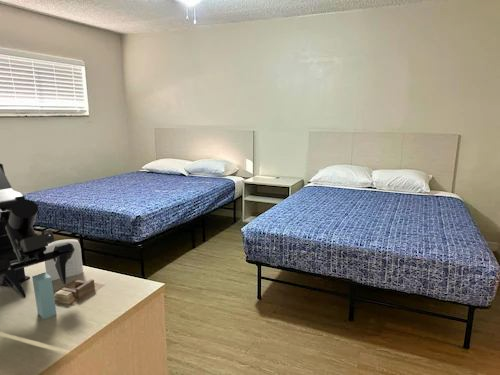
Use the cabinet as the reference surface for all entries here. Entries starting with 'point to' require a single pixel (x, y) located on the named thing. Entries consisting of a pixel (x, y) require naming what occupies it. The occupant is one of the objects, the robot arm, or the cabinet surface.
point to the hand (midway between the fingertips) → (45, 290)
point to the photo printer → (72, 264)
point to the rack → (76, 291)
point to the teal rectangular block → (44, 295)
